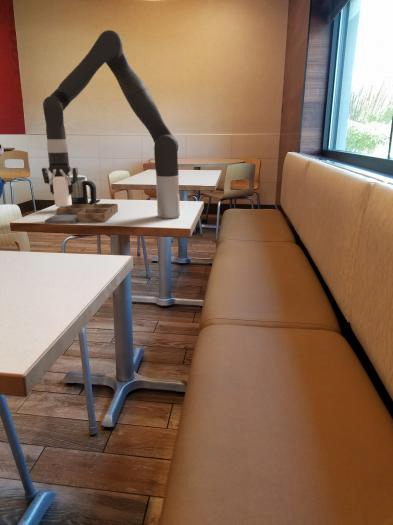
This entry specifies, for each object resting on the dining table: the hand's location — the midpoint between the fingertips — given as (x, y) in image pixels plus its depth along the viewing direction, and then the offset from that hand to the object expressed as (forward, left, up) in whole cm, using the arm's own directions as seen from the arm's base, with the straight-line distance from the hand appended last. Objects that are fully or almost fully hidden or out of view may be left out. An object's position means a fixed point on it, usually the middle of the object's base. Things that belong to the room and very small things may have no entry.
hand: (62, 193), depth 165 cm
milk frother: (0, -27, -11) cm, 29 cm away
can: (0, 0, -5) cm, 5 cm away
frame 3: (-12, -14, -11) cm, 21 cm away
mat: (0, 0, -11) cm, 11 cm away
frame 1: (0, -12, -11) cm, 16 cm away
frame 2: (-12, -2, -11) cm, 16 cm away
